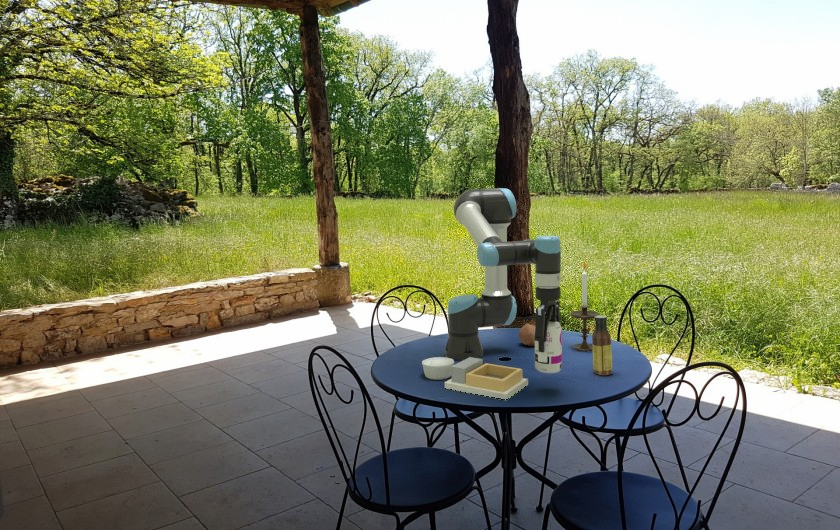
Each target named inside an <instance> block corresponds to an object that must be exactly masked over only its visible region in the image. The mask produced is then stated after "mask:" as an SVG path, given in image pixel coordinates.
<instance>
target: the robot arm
mask: <svg viewBox="0 0 840 530" xmlns="http://www.w3.org/2000/svg"><path fill="white" fill-rule="evenodd" d="M516 213H517V202H516V199H515V196H514V193H513V192H512V191H511V190H510V189H508V188H503V187H502V188H501V187H497V188H496V187H495V188H471V189H468V190H465V191H464V192H462V193H461V194H460V195H459V196H458V197H457V198H456V200H455V201H454V204H453V214H454V217H455V219H456V220H457V222H458V223H459V224H461V225H463V226H464V228H465V229H466V231H467V232H468V234H469V235H470V236H471V238H472V240H473V242H475V244H476V246H477V249H476V252H477V253H476V257H477V260H478V263H479V265H480V266H481V267H484V288H483V290H482V291H481V293H480V295H481V296H480V297H478V295H476V294H461V295H458V296H454V297H452V298H451V299H449V300H448V302H447V320H448V322H447V325H448V338H447V342H446V344H445V348H444V356H445V357H446V358H451V359H453V360H454V361H455V360H456V361H463V360H465V359H467V358H469V357H472V358H478V359H481V358H483V356H484V348H483V345H482V341H481V339H480V337H479V336H480V335H479V329H480V328H481V329H482V328H491V327H503V326H508V325H512V323H513V322H514V321H515V319H516V316H517V309H518V308H517V307H518V305H517V301H516V298H515V297H514V296H513V295H512V292H511V290H509V288H508V266H513V265H514V266H515V265H531V264H533V265H534V266H535V271H534V273H535V275H534V277H535V280H534V282H535V283H534V284H535V299H536V300H539V301H540V302H539V308H538V307H536V308H535V325H534V326H535V341H538V361H539V362H545V363H547V341H546V336H547V328H548V324H549V321H552V322H556V321H557V322H559V323H560V326H561V325H562V324H561V311H560V306H561V305H560V304H561V303H560V299H561V295H562V294H561V288H562V287H560V286H561V280H562V279H563V278H562V276H561V263H562V261H561V259H562V255H561V254H562V247H561V238H560V237H559V236H557V235H540V236H539V235H538V236H537V237H536V238H535V239H534V238H533V239H532V238H531V239H530V238H529V239H524V240H518V241H517V240H516V241H511V240H510V241H507V239H508V236H507V235H508V227H509V226H510V225H511V223H512V222H511V221H512V220H511V219H513V218H515V217H516ZM561 327H562V326H561Z"/></svg>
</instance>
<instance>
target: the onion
mask: <svg viewBox="0 0 840 530" xmlns="http://www.w3.org/2000/svg"><path fill="white" fill-rule="evenodd" d="M518 338H519V341H520V342H521V343H522V344H524V346H527V345H528V347H529V346H530V347H533V346H534V347H535V325H533V324H530V323H528V322H527V323H525V324H524V325H523V326H522V327H521V328H520V330H519V331H518Z"/></svg>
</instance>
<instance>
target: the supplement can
mask: <svg viewBox="0 0 840 530" xmlns="http://www.w3.org/2000/svg"><path fill="white" fill-rule="evenodd" d="M560 323H561V322H560ZM560 323H559V322H557V321H556V322H552V321H549V324H548V328H547V336H546V341H547V363H545V362H539V361H538V341H535V346H534V369H536V370H537V371H538V372H540V373H542V374H543V373H544V374H556V373H559V372H560V371H561V370H562V368H563V328H562V326H560Z"/></svg>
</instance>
